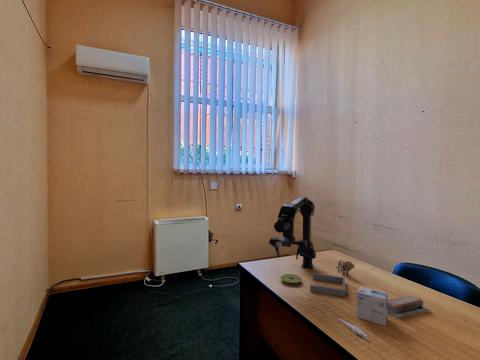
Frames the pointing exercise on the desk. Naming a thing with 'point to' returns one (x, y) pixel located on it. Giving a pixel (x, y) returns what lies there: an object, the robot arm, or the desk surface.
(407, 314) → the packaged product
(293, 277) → the green speckled disc
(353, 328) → the stylus pen
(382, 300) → the light bulb box
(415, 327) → the desk surface
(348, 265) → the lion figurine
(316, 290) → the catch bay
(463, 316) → the desk surface
